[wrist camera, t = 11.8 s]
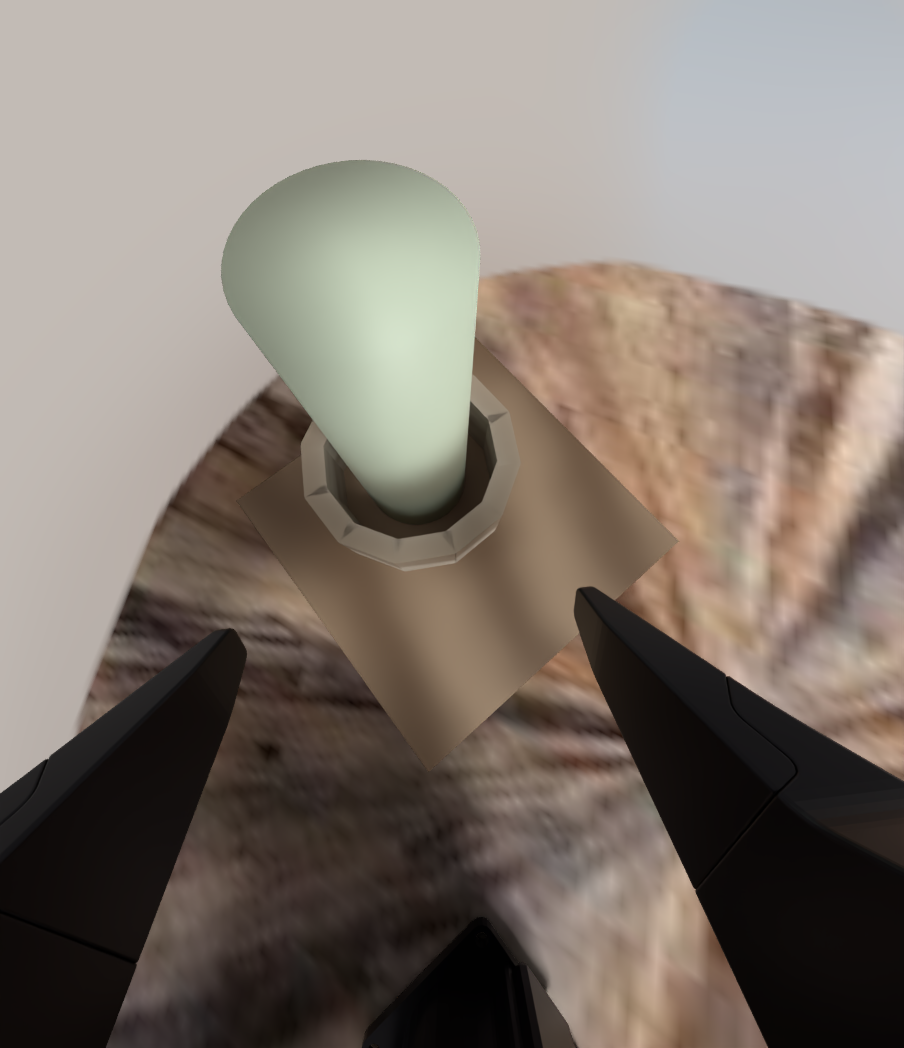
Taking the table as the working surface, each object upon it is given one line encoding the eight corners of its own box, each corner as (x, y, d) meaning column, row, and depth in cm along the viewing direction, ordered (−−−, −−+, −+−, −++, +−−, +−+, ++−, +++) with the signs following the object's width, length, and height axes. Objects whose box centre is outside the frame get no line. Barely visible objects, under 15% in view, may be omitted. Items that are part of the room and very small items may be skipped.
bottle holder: (430, 760, 16) (422, 810, 12) (249, 507, 19) (195, 480, 15) (665, 545, 19) (723, 527, 15) (470, 348, 22) (474, 288, 18)
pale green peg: (447, 536, 18) (433, 397, 6) (355, 508, 18) (174, 326, 6) (476, 449, 19) (509, 189, 7) (388, 424, 19) (284, 139, 8)
